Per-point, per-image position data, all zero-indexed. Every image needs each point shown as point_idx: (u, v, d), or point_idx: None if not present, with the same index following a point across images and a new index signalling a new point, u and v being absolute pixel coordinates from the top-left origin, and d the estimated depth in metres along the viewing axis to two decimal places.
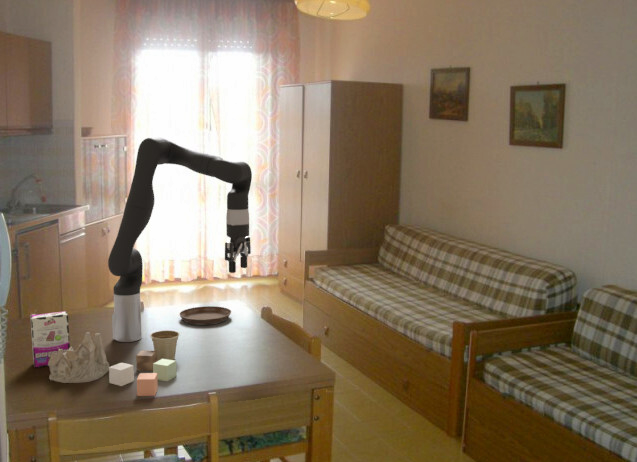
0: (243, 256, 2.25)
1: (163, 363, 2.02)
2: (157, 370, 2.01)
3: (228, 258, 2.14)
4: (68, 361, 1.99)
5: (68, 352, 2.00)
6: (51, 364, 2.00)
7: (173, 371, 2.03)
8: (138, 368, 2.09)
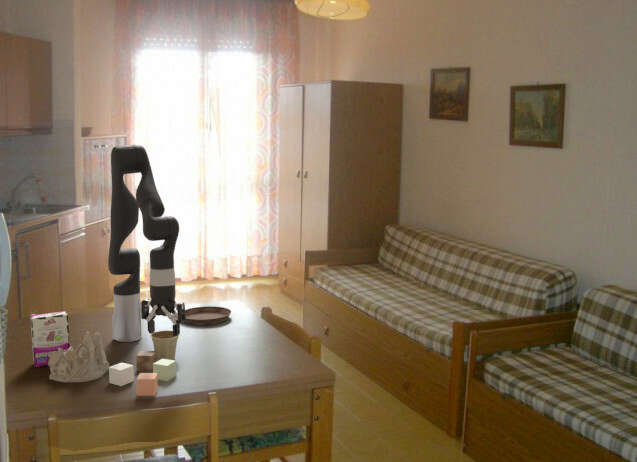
0: (152, 320, 2.02)
1: (163, 363, 2.02)
2: (157, 370, 2.01)
3: (183, 320, 1.99)
4: (68, 360, 1.99)
5: (68, 352, 2.01)
6: (51, 364, 2.01)
7: (173, 371, 2.03)
8: (138, 368, 2.09)
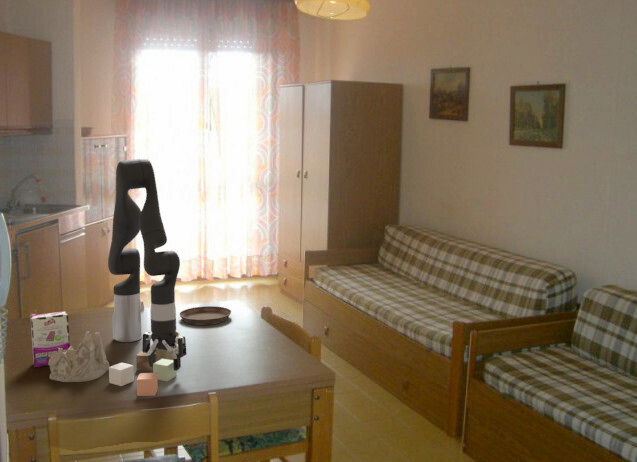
0: (153, 353, 2.04)
1: (163, 363, 2.02)
2: (157, 370, 2.01)
3: (184, 354, 2.00)
4: (68, 360, 2.00)
5: (68, 351, 2.01)
6: (51, 363, 2.01)
7: (173, 371, 2.03)
8: (138, 368, 2.09)
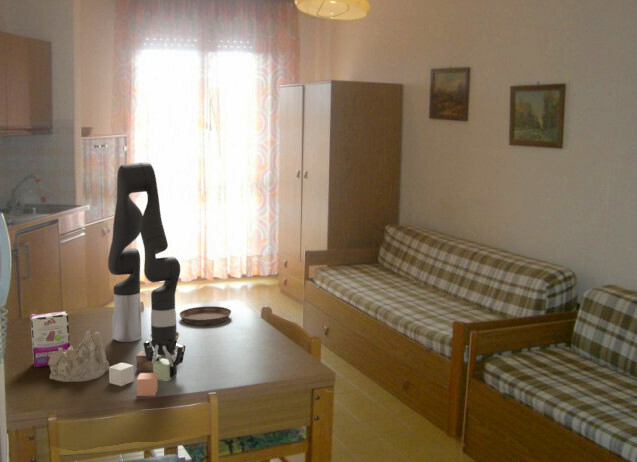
0: None
1: (163, 362, 2.02)
2: (157, 370, 2.01)
3: (180, 361, 2.01)
4: (68, 360, 2.00)
5: (68, 351, 2.01)
6: (51, 363, 2.01)
7: None
8: (138, 368, 2.09)
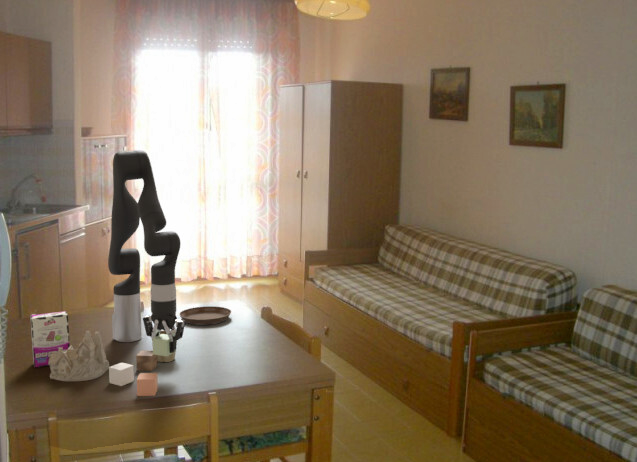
0: None
1: (162, 337, 2.01)
2: (157, 345, 2.00)
3: (179, 336, 2.00)
4: (68, 360, 2.00)
5: (68, 351, 2.02)
6: (51, 363, 2.01)
7: None
8: (138, 368, 2.09)
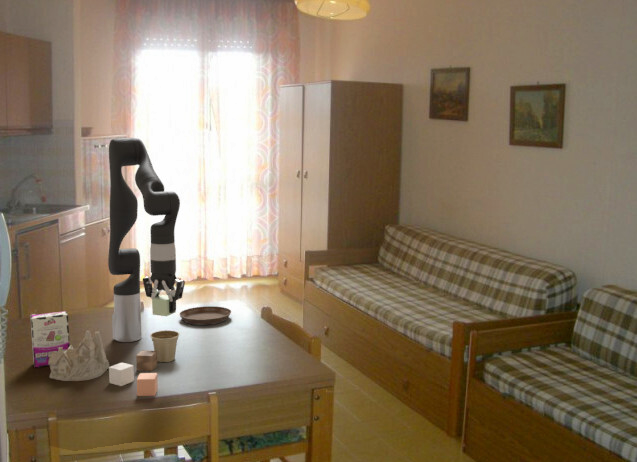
0: None
1: (162, 298, 2.02)
2: (156, 305, 2.01)
3: (179, 296, 2.00)
4: (68, 359, 2.00)
5: (68, 350, 2.02)
6: (51, 362, 2.02)
7: None
8: (138, 368, 2.09)
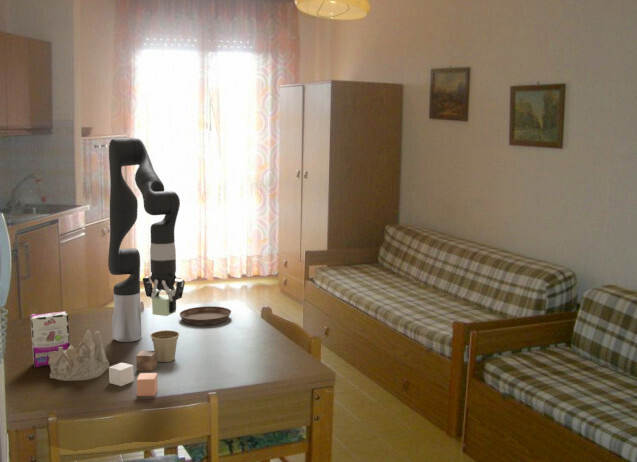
0: None
1: (162, 297, 2.02)
2: (156, 305, 2.01)
3: (179, 296, 2.00)
4: (69, 359, 2.01)
5: (68, 350, 2.02)
6: (51, 362, 2.02)
7: None
8: (138, 368, 2.09)
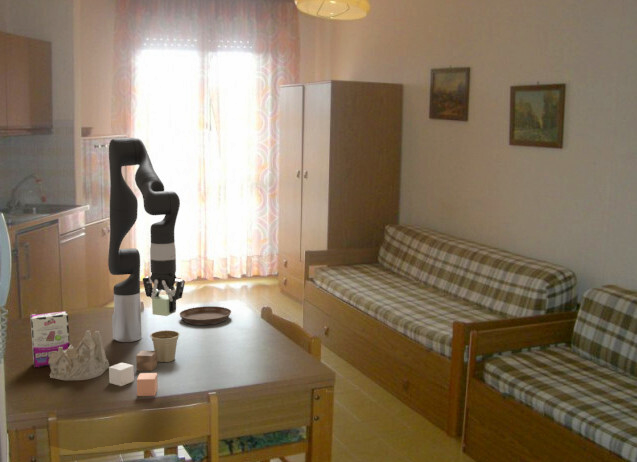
0: None
1: (162, 297, 2.02)
2: (156, 305, 2.01)
3: (179, 296, 2.00)
4: (69, 359, 2.01)
5: (68, 350, 2.02)
6: (51, 362, 2.02)
7: None
8: (138, 368, 2.09)
